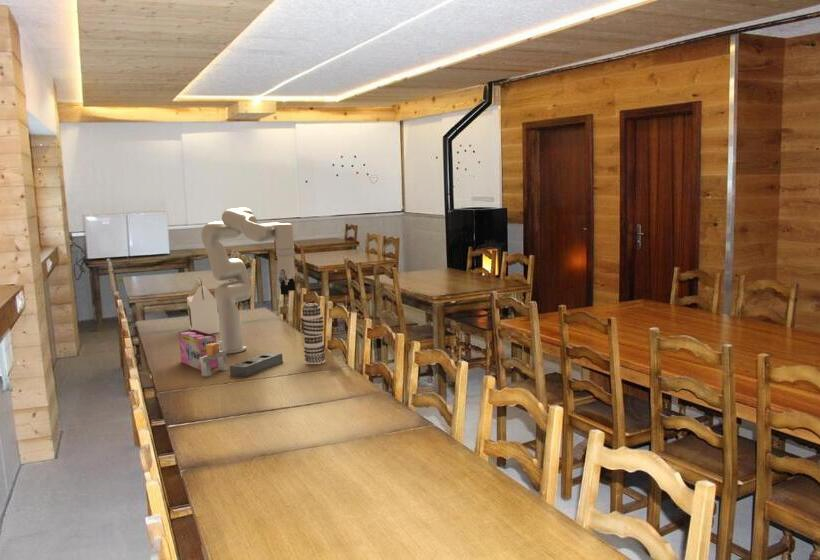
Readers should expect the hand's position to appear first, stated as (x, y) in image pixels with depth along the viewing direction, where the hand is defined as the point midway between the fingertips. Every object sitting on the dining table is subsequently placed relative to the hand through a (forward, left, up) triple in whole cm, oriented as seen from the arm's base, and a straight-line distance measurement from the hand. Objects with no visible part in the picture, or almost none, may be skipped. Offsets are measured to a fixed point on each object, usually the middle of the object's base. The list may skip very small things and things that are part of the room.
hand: (288, 292), depth 319 cm
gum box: (-37, -18, -30) cm, 51 cm away
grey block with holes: (-6, -17, -29) cm, 35 cm away
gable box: (-89, +41, -30) cm, 102 cm away
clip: (-20, -27, -30) cm, 45 cm away
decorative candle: (+12, -1, -30) cm, 32 cm away
